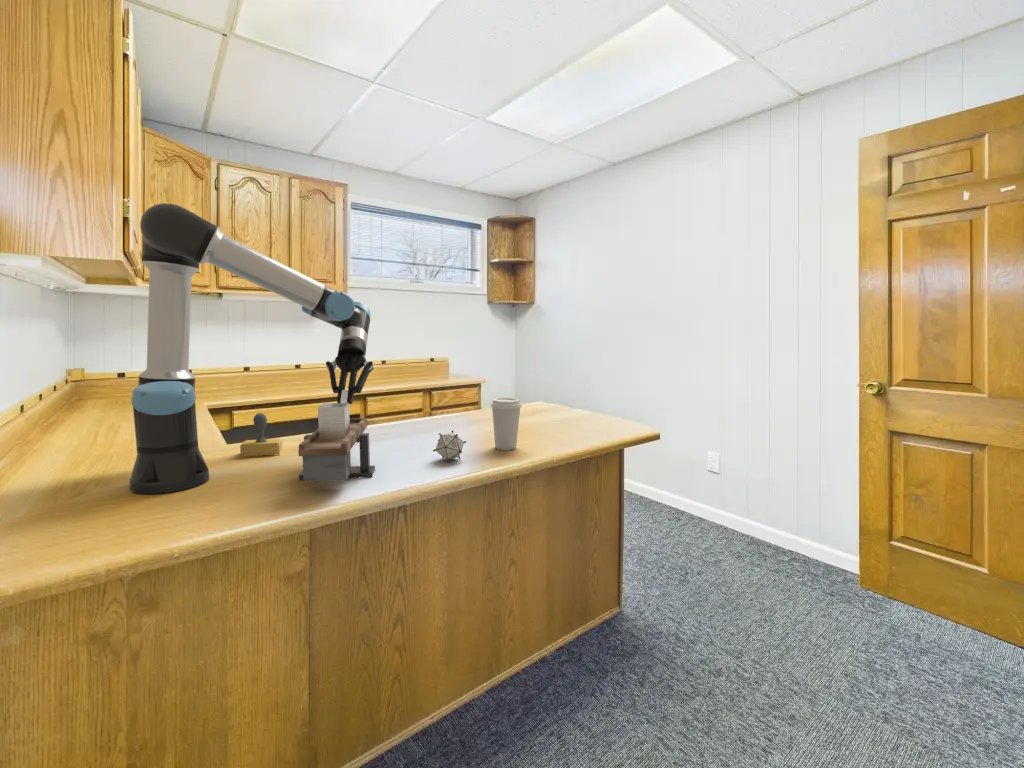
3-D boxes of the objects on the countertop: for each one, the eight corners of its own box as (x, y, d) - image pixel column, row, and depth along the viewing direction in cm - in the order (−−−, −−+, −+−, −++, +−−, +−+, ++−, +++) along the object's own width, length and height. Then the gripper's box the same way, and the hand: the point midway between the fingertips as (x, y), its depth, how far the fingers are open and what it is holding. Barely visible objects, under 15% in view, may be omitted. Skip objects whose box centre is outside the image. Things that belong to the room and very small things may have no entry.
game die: (449, 470, 137) (454, 438, 142) (469, 465, 132) (474, 432, 137) (424, 460, 132) (431, 427, 137) (444, 454, 127) (450, 420, 132)
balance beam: (329, 448, 134) (328, 418, 133) (368, 447, 136) (367, 418, 135) (298, 483, 105) (297, 445, 104) (348, 481, 106) (347, 443, 105)
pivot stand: (306, 472, 123) (304, 433, 121) (375, 470, 125) (374, 431, 124) (299, 479, 117) (297, 438, 115) (371, 477, 119) (370, 436, 118)
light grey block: (324, 433, 120) (323, 403, 119) (349, 432, 121) (349, 403, 120) (319, 438, 114) (317, 407, 113) (345, 438, 115) (344, 407, 114)
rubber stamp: (240, 457, 135) (238, 415, 134) (245, 452, 141) (243, 412, 139) (279, 455, 138) (277, 414, 137) (282, 450, 144) (280, 410, 142)
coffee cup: (526, 446, 151) (527, 399, 149) (510, 453, 143) (510, 403, 141) (501, 442, 156) (501, 396, 154) (484, 448, 148) (484, 400, 146)
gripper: (377, 354, 144) (370, 420, 130) (332, 354, 143) (319, 421, 128) (374, 337, 139) (366, 404, 124) (327, 336, 137) (313, 404, 122)
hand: (342, 412), depth 126 cm, fingers closed
